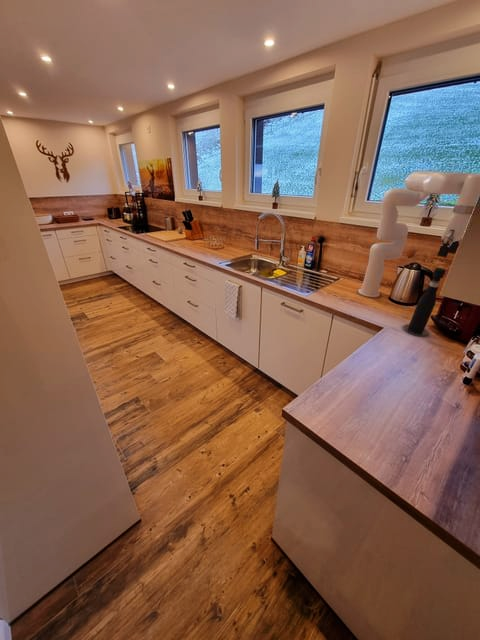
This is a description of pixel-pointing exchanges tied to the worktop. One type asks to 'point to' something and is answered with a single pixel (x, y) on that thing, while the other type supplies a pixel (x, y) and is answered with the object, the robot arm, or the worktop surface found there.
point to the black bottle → (426, 303)
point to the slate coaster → (415, 332)
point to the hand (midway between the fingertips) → (446, 254)
